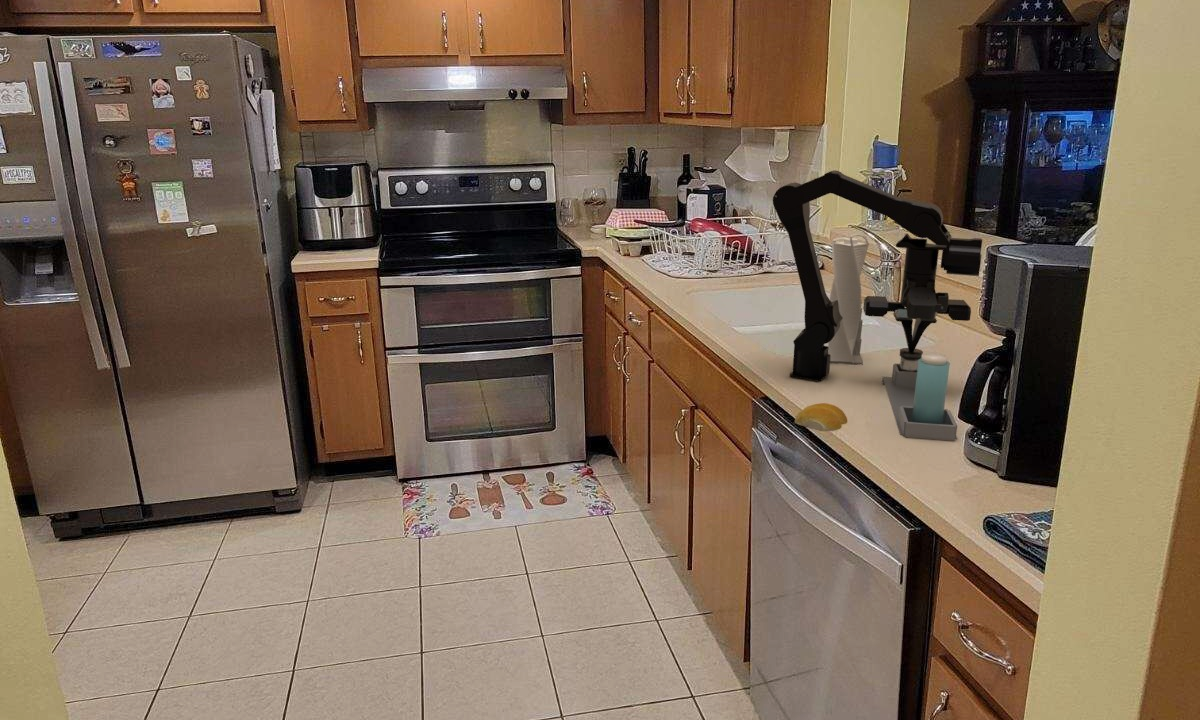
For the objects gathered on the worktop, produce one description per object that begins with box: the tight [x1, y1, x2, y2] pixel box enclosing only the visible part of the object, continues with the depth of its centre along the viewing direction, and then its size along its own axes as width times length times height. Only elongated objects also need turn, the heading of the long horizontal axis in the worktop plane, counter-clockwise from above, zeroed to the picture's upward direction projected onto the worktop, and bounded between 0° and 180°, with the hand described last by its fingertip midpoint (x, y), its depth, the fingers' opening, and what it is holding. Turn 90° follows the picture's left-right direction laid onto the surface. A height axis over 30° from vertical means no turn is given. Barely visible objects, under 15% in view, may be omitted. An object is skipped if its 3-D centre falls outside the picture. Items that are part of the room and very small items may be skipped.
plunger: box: [899, 347, 924, 372], centre depth 162 cm, size 4×4×6 cm
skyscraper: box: [827, 233, 869, 366], centre depth 177 cm, size 8×8×28 cm
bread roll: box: [794, 402, 848, 432], centre depth 145 cm, size 8×9×4 cm
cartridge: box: [912, 352, 951, 424], centre depth 138 cm, size 5×5×13 cm
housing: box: [881, 362, 958, 442], centre depth 151 cm, size 32×9×4 cm, turn 167°
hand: (910, 351), depth 161 cm, fingers closed, pressing on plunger
